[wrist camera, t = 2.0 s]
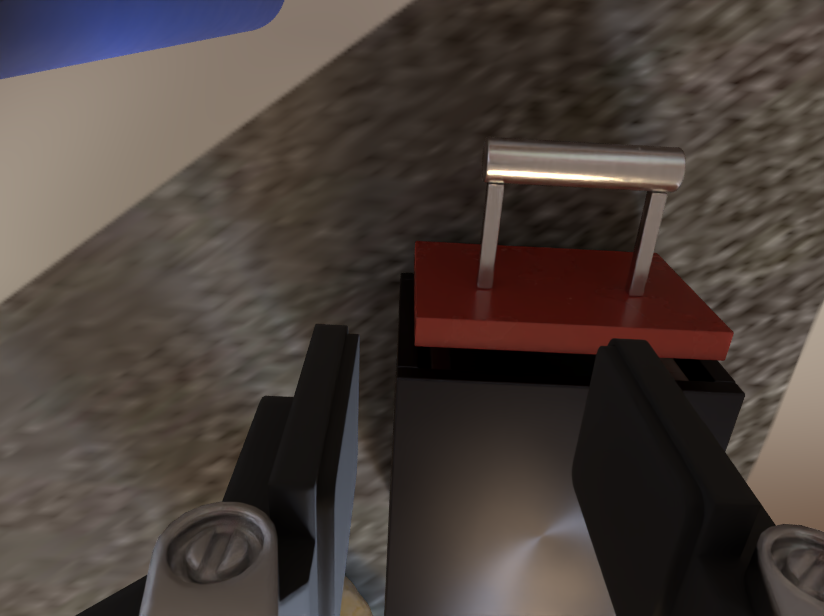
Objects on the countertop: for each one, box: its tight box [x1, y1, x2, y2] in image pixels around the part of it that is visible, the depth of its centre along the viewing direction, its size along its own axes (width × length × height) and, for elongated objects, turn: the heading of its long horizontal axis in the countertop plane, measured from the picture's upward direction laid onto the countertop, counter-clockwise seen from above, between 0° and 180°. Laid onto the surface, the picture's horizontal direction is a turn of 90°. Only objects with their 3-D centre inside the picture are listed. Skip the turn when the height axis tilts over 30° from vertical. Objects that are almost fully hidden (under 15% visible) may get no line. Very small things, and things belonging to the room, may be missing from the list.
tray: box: [414, 137, 734, 381], centre depth 27 cm, size 19×11×8 cm, turn 177°
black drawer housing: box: [384, 273, 745, 616], centre depth 30 cm, size 15×13×10 cm
